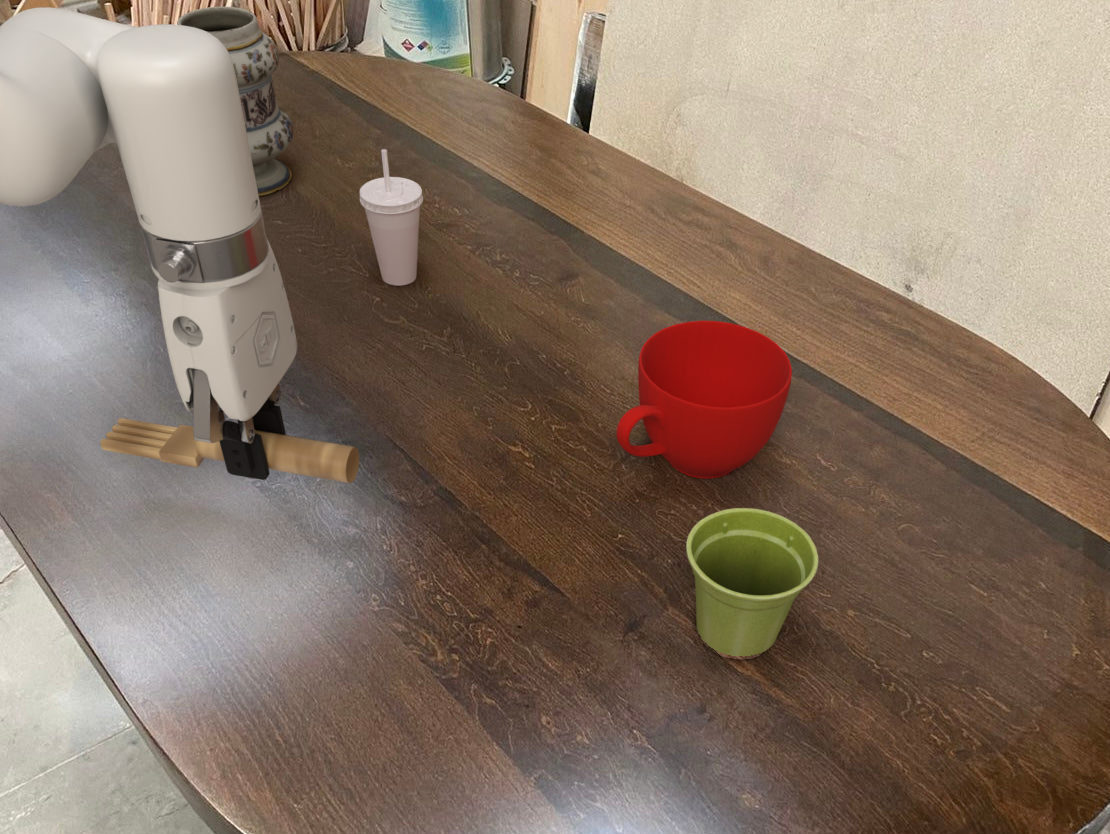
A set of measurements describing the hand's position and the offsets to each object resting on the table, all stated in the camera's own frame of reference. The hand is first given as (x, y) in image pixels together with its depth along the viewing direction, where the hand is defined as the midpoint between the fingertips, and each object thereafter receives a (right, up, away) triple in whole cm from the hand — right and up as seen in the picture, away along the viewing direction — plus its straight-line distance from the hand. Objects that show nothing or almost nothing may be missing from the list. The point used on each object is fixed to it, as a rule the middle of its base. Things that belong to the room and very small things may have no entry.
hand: (258, 458), depth 83 cm
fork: (-2, 0, +1) cm, 2 cm away
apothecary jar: (-16, +40, +47) cm, 63 cm away
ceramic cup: (+34, +1, +13) cm, 37 cm away
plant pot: (+37, -13, 0) cm, 39 cm away
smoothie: (+5, +24, +33) cm, 41 cm away
